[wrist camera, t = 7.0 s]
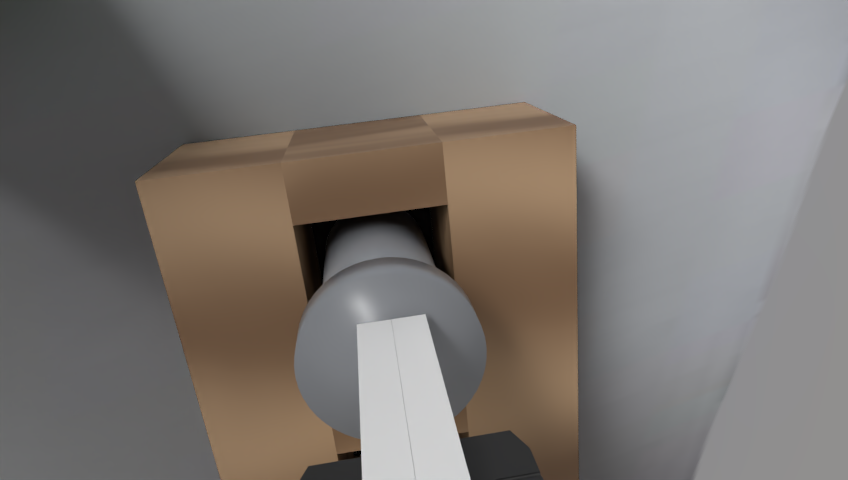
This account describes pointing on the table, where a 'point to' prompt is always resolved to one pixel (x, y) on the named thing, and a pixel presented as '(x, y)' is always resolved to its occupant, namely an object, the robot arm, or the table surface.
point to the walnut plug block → (300, 278)
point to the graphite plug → (381, 315)
